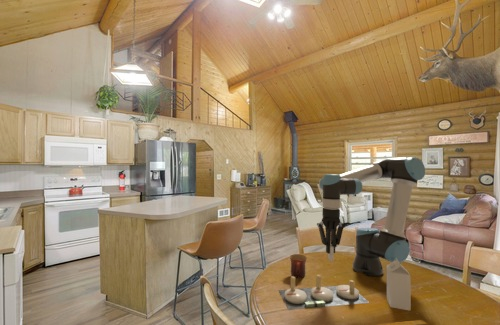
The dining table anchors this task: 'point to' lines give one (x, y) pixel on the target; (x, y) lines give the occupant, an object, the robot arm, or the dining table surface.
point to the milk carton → (398, 286)
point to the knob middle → (321, 291)
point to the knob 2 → (348, 290)
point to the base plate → (315, 303)
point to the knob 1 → (295, 294)
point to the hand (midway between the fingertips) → (330, 260)
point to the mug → (298, 265)
